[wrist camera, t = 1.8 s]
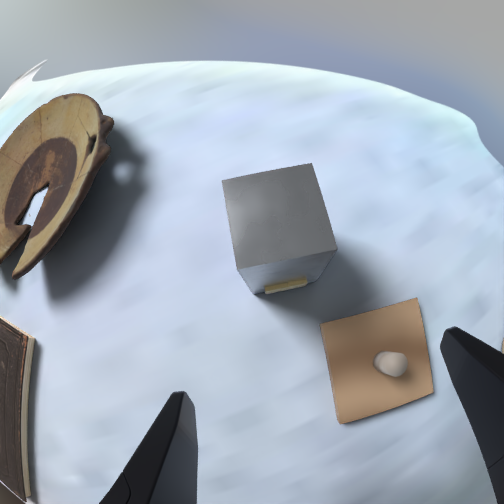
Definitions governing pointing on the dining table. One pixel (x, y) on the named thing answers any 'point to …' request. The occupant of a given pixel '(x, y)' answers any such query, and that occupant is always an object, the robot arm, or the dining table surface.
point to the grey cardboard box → (279, 228)
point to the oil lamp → (49, 172)
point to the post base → (358, 357)
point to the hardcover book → (14, 406)
